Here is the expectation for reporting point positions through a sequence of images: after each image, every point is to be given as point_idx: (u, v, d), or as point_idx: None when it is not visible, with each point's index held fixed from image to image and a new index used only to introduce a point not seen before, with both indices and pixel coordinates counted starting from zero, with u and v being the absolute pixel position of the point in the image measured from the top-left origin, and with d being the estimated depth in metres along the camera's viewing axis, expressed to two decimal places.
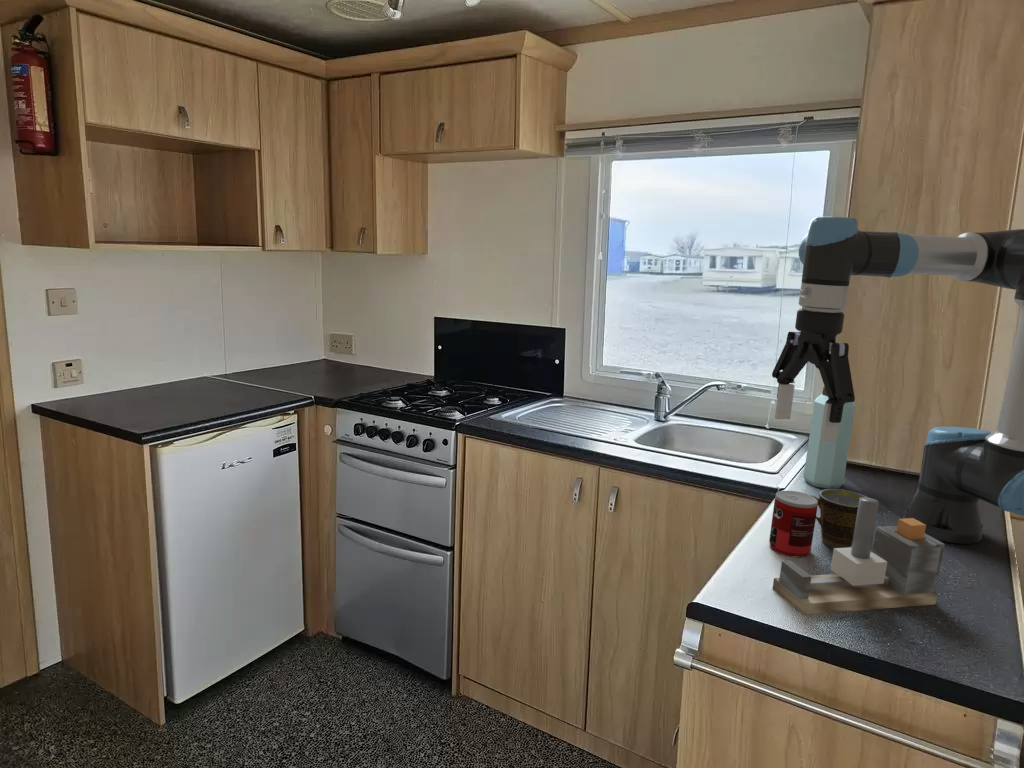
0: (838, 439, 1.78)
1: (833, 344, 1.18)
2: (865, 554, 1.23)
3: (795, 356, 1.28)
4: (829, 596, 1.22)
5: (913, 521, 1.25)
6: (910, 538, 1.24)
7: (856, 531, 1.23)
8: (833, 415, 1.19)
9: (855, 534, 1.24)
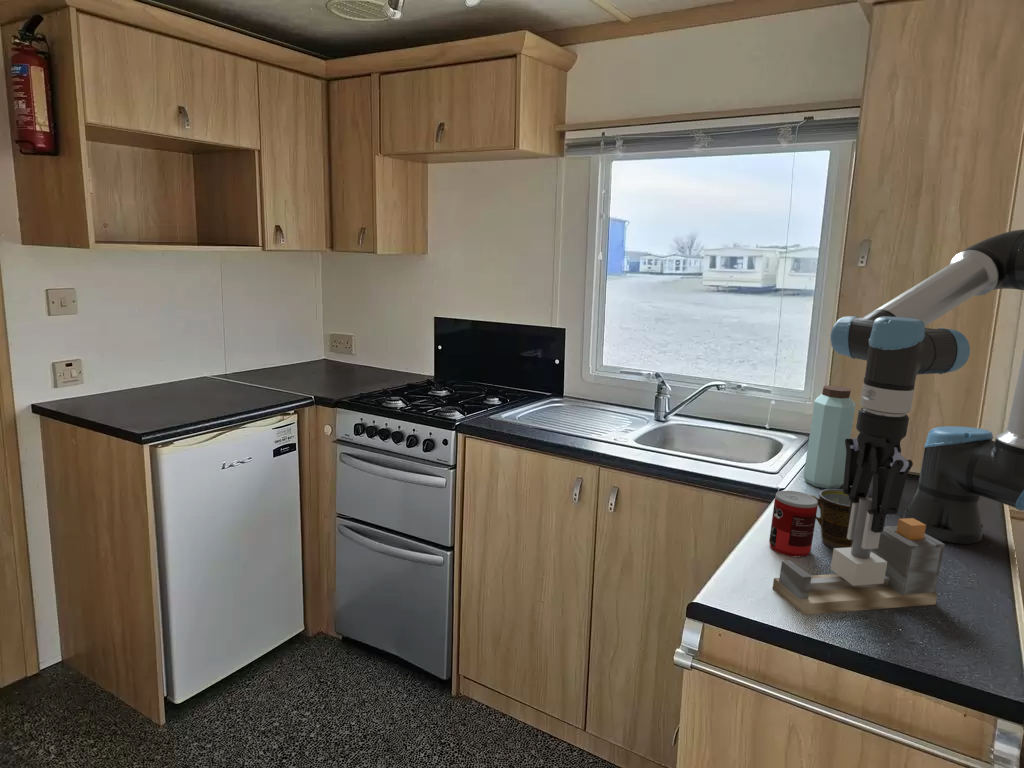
0: (838, 439, 1.78)
1: (897, 462, 1.15)
2: (865, 554, 1.23)
3: (860, 461, 1.22)
4: (829, 596, 1.22)
5: (913, 521, 1.25)
6: (910, 538, 1.24)
7: (856, 531, 1.23)
8: (875, 525, 1.20)
9: (855, 534, 1.24)
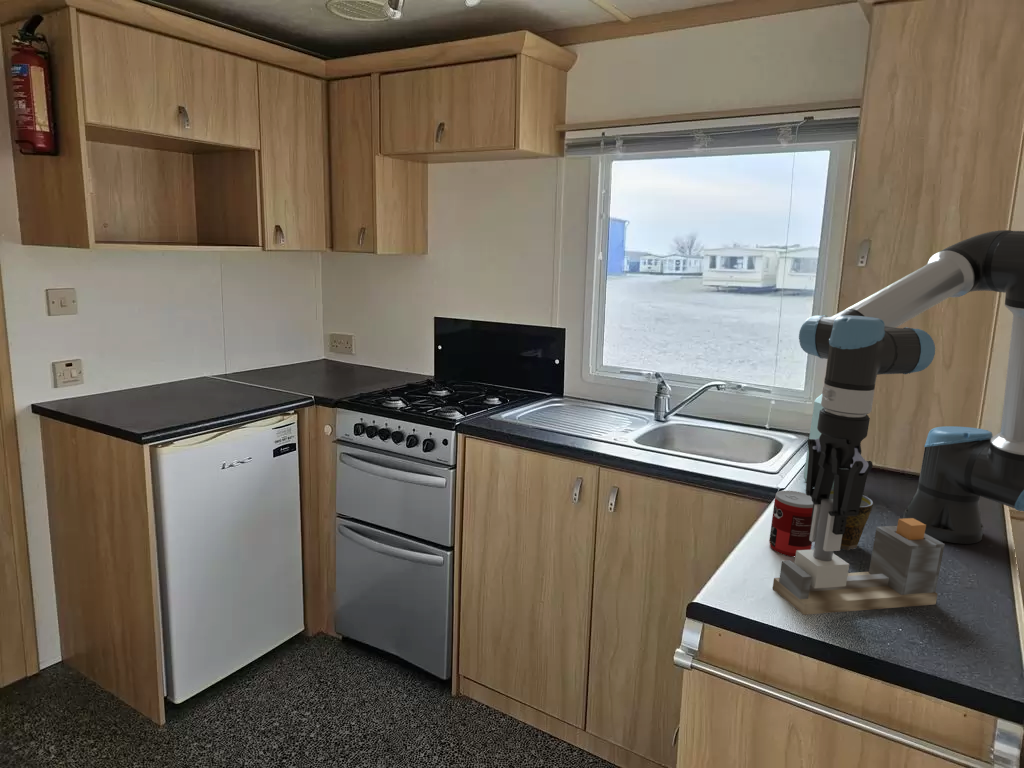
0: None
1: (857, 463, 1.13)
2: (827, 556, 1.21)
3: (822, 462, 1.20)
4: (829, 596, 1.22)
5: (913, 521, 1.25)
6: (910, 538, 1.24)
7: (818, 533, 1.22)
8: (836, 527, 1.18)
9: (817, 536, 1.22)
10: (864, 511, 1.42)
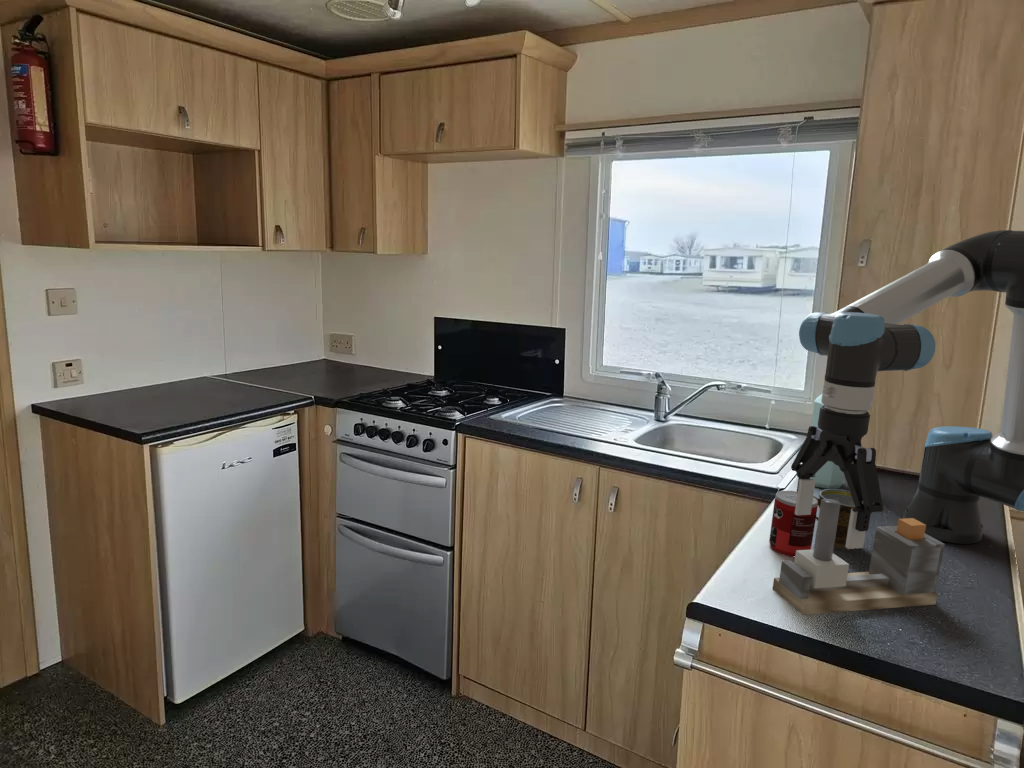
0: None
1: (860, 449, 1.12)
2: (827, 556, 1.21)
3: (817, 454, 1.22)
4: (829, 596, 1.22)
5: (913, 521, 1.25)
6: (910, 538, 1.24)
7: (818, 533, 1.22)
8: (860, 523, 1.13)
9: (817, 536, 1.22)
10: None
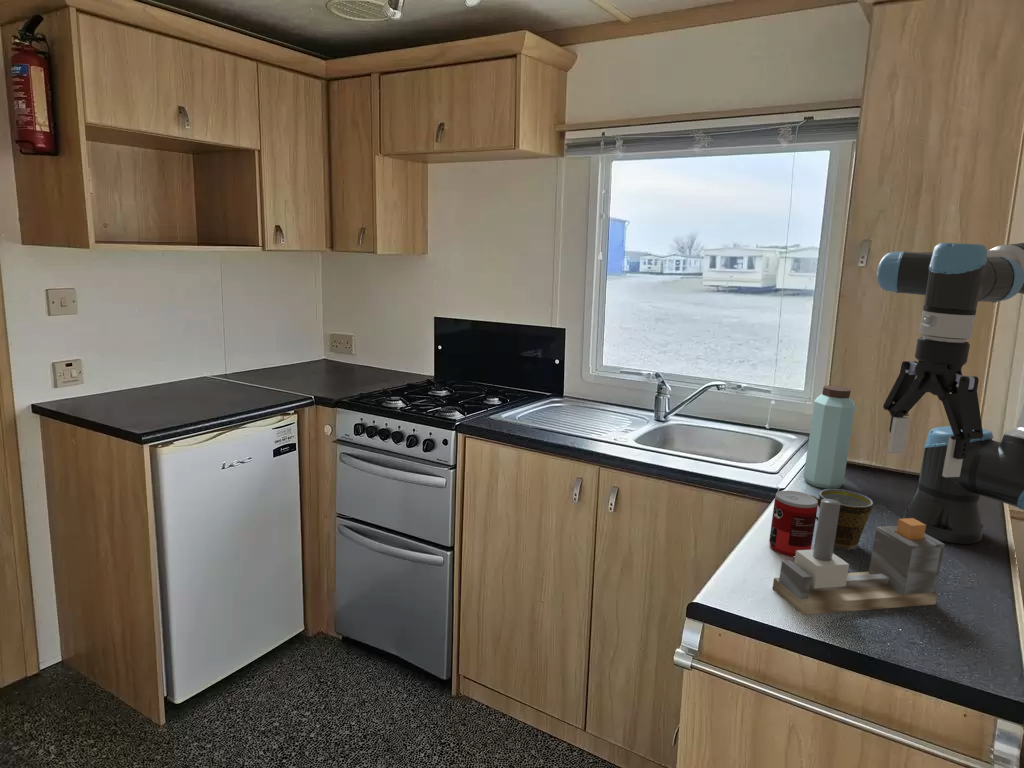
0: (838, 439, 1.78)
1: (962, 377, 1.14)
2: (827, 556, 1.21)
3: (913, 387, 1.23)
4: (829, 596, 1.22)
5: (913, 521, 1.25)
6: (910, 538, 1.24)
7: (818, 533, 1.22)
8: (958, 451, 1.15)
9: (817, 536, 1.22)
10: (864, 511, 1.42)
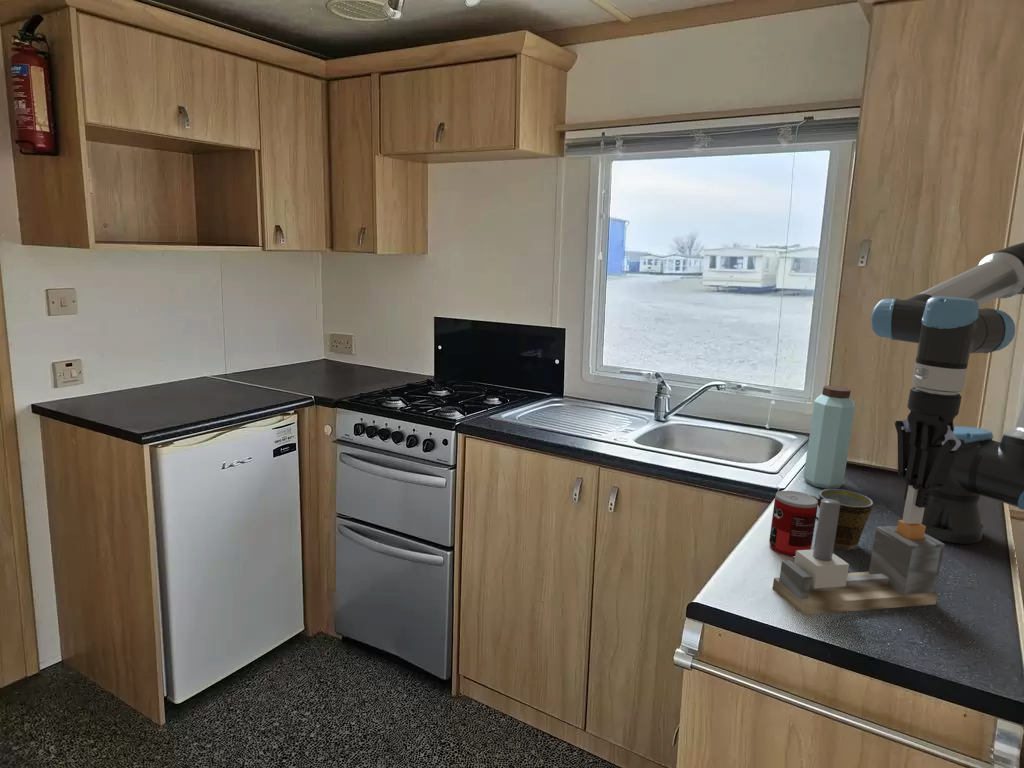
0: (838, 439, 1.78)
1: (950, 441, 1.16)
2: (827, 556, 1.21)
3: (913, 441, 1.23)
4: (829, 596, 1.22)
5: None
6: (910, 539, 1.24)
7: (818, 533, 1.22)
8: (920, 500, 1.23)
9: (817, 536, 1.22)
10: (864, 511, 1.42)
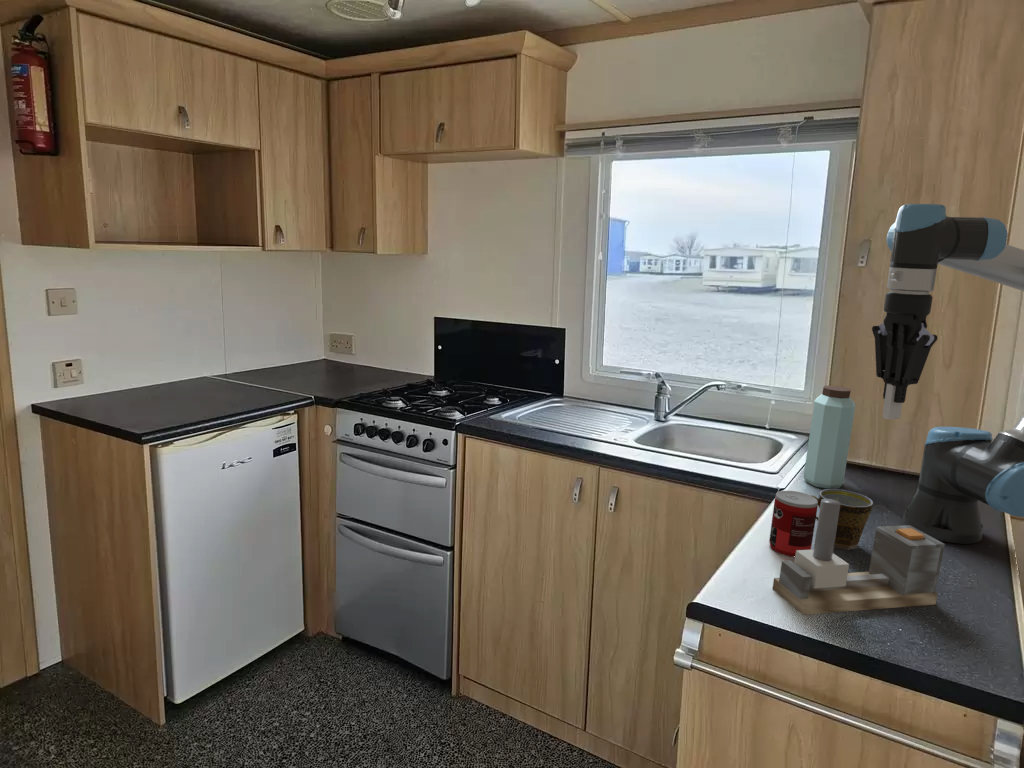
0: (838, 439, 1.78)
1: (924, 336, 1.26)
2: (827, 556, 1.21)
3: (890, 341, 1.33)
4: (829, 596, 1.22)
5: (911, 532, 1.26)
6: None
7: (818, 533, 1.22)
8: (898, 396, 1.33)
9: (817, 536, 1.22)
10: (864, 511, 1.42)
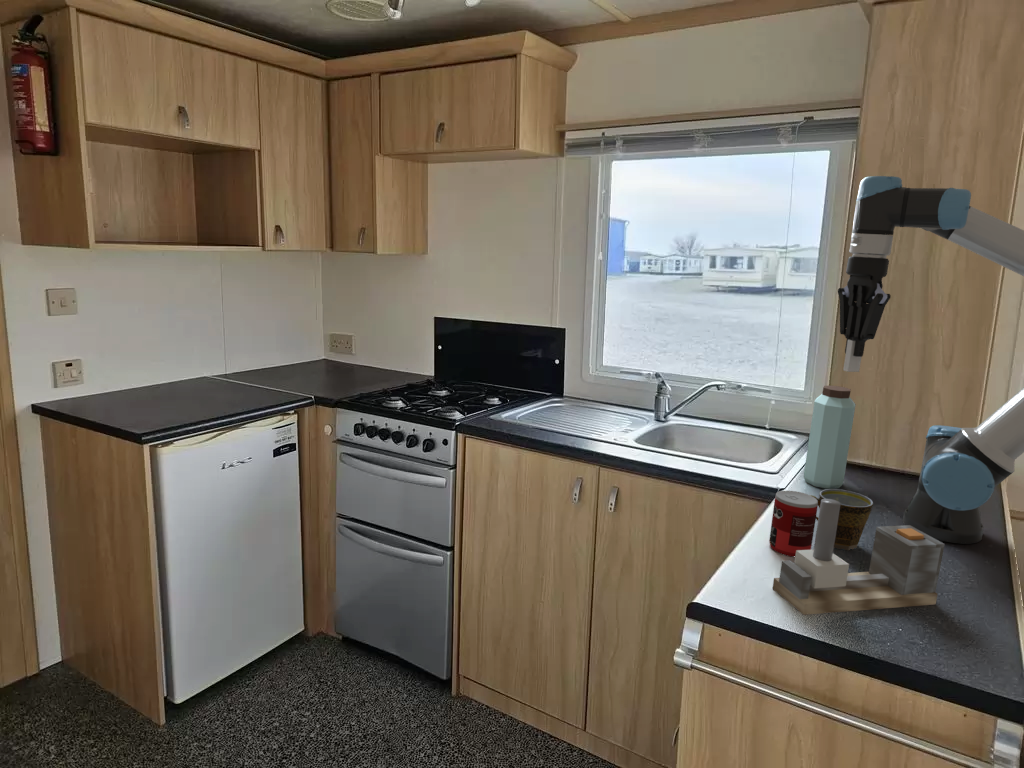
0: (838, 439, 1.78)
1: (878, 295, 1.41)
2: (827, 556, 1.21)
3: (851, 301, 1.48)
4: (829, 596, 1.22)
5: (911, 532, 1.26)
6: None
7: (818, 533, 1.22)
8: (857, 350, 1.48)
9: (817, 536, 1.22)
10: (864, 511, 1.42)
